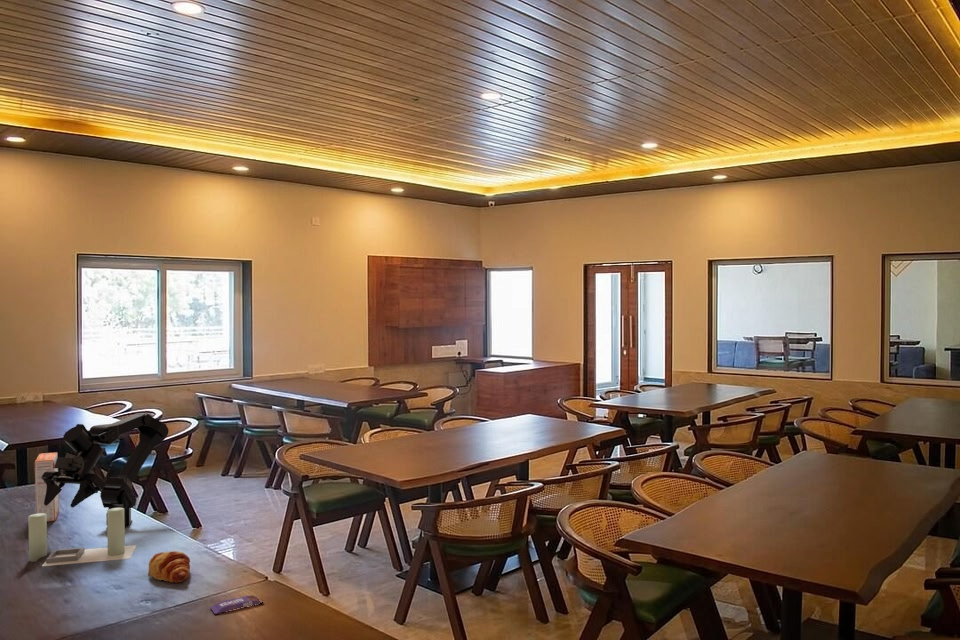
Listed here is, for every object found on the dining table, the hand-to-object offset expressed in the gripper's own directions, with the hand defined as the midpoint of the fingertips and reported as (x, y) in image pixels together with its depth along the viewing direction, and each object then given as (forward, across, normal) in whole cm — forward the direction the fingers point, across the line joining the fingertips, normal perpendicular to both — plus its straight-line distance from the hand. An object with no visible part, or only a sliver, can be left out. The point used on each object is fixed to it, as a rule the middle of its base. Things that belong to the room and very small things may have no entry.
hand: (58, 505), depth 216 cm
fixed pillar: (+9, +20, +8) cm, 24 cm away
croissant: (+16, +44, +3) cm, 47 cm away
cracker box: (-10, -31, +29) cm, 44 cm away
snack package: (+27, +74, -7) cm, 79 cm away
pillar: (+15, 0, +4) cm, 15 cm away
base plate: (+12, +15, +7) cm, 20 cm away
